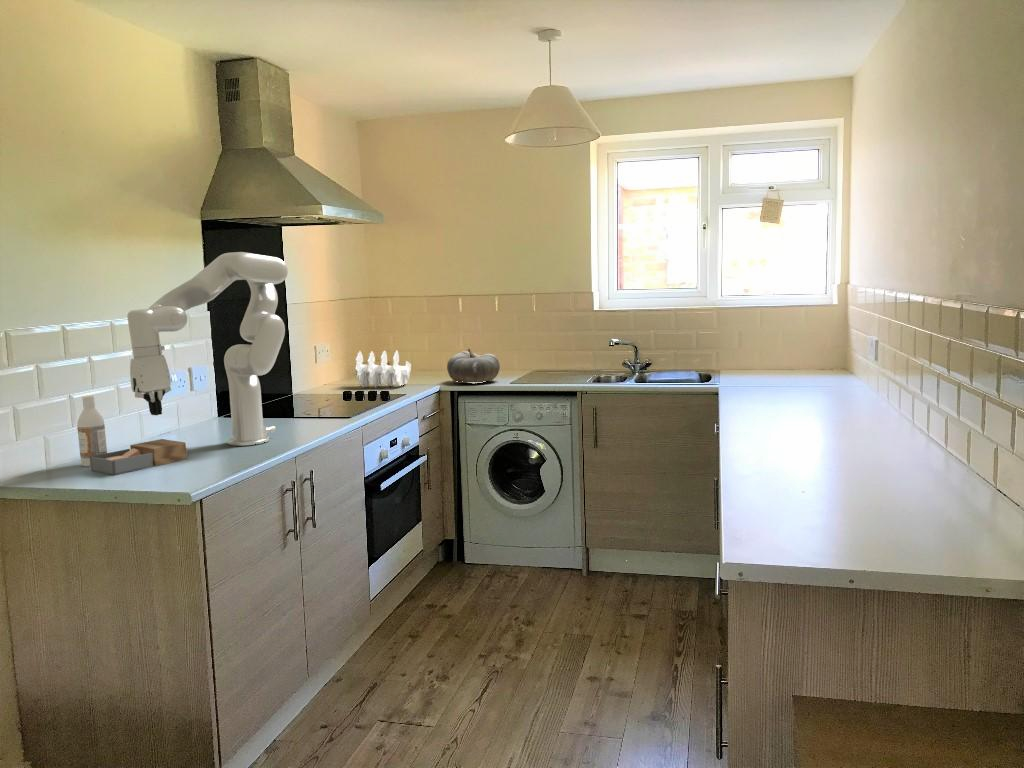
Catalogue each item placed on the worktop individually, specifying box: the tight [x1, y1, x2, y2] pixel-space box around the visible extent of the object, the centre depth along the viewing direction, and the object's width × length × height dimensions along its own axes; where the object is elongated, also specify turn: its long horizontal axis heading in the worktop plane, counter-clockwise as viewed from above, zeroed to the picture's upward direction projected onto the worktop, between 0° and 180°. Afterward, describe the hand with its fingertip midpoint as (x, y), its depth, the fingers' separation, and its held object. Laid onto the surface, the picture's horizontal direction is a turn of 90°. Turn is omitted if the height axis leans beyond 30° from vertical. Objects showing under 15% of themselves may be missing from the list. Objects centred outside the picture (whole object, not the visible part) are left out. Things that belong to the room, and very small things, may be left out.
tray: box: [90, 448, 155, 476], centre depth 226 cm, size 12×12×4 cm
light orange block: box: [105, 456, 126, 460], centre depth 225 cm, size 4×4×3 cm
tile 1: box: [122, 448, 141, 458], centre depth 228 cm, size 4×4×3 cm
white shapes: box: [354, 349, 412, 389], centre depth 383 cm, size 18×18×25 cm
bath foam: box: [76, 395, 108, 468], centre depth 232 cm, size 7×7×20 cm
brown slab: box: [129, 438, 188, 467], centre depth 235 cm, size 10×12×5 cm
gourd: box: [446, 348, 501, 382], centre depth 390 cm, size 25×25×17 cm
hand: (156, 414), depth 234 cm, fingers closed
